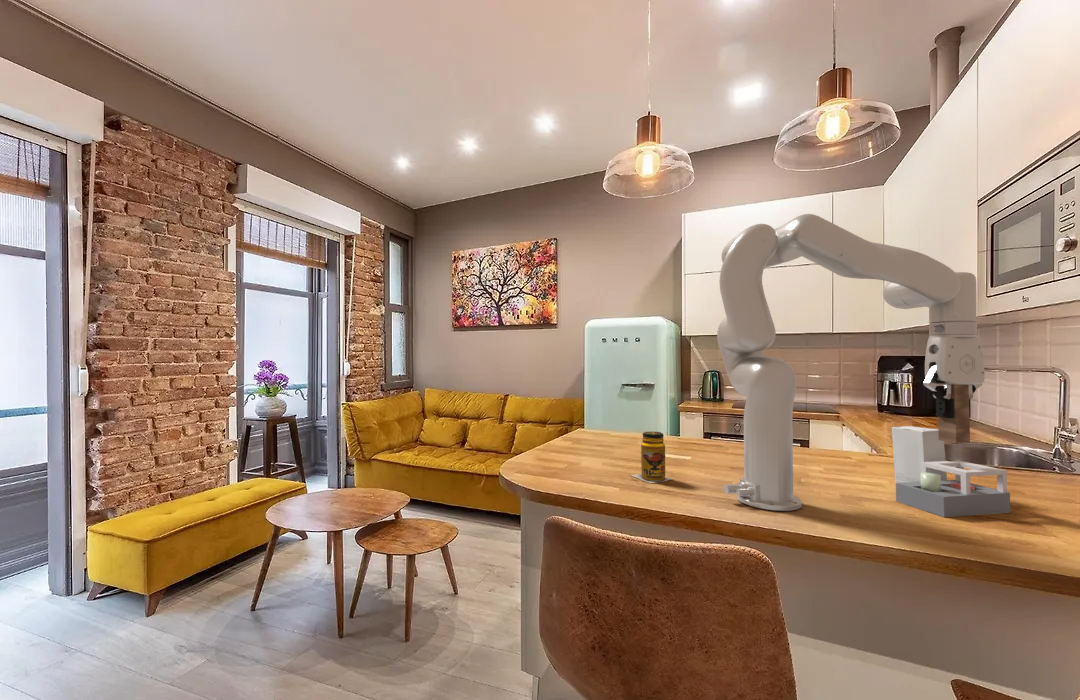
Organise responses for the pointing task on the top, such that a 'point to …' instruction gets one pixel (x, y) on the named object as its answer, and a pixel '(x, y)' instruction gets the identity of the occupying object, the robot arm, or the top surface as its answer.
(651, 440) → the condiment
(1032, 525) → the top surface
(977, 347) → the robot arm
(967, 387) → the wooden block
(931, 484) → the on button
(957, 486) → the plunger
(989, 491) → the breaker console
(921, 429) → the skincare box
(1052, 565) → the top surface
